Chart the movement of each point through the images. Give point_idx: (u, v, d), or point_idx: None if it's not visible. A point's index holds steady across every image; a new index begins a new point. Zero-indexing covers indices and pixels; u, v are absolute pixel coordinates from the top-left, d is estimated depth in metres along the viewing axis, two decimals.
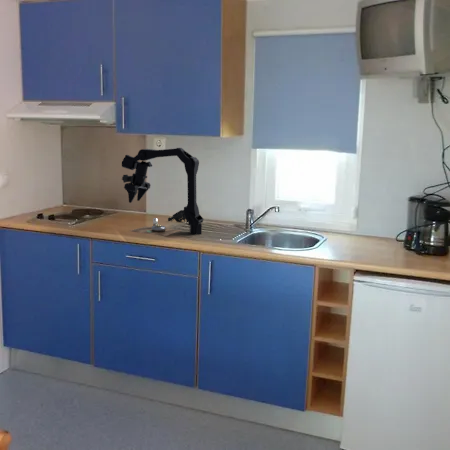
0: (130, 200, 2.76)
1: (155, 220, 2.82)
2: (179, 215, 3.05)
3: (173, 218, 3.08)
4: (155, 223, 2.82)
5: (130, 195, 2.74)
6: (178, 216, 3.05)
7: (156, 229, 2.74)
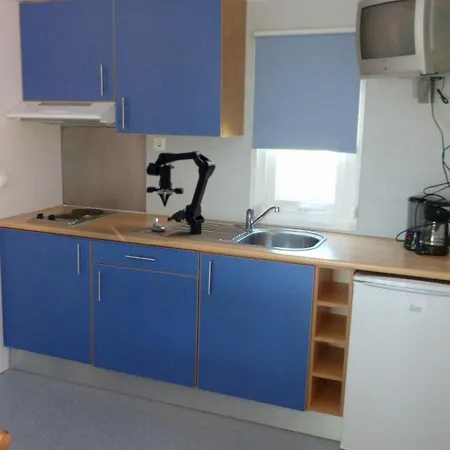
0: None
1: (155, 220, 2.82)
2: (178, 215, 3.05)
3: (172, 218, 3.08)
4: (155, 223, 2.82)
5: None
6: (177, 216, 3.06)
7: (156, 229, 2.74)
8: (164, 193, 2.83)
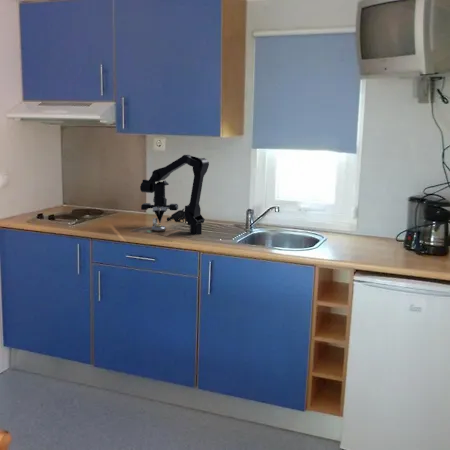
0: None
1: (155, 220, 2.82)
2: (178, 215, 3.05)
3: (172, 218, 3.08)
4: (155, 223, 2.82)
5: None
6: (177, 216, 3.06)
7: (156, 229, 2.74)
8: (159, 209, 2.85)
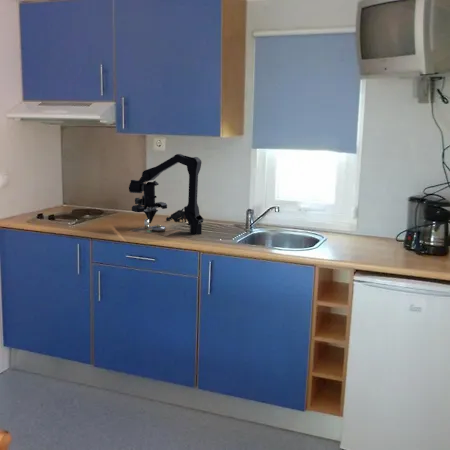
0: (149, 221, 2.81)
1: (148, 221, 2.79)
2: (177, 215, 3.06)
3: (171, 218, 3.09)
4: (148, 224, 2.79)
5: (148, 216, 2.80)
6: (176, 216, 3.06)
7: (161, 229, 2.75)
8: None
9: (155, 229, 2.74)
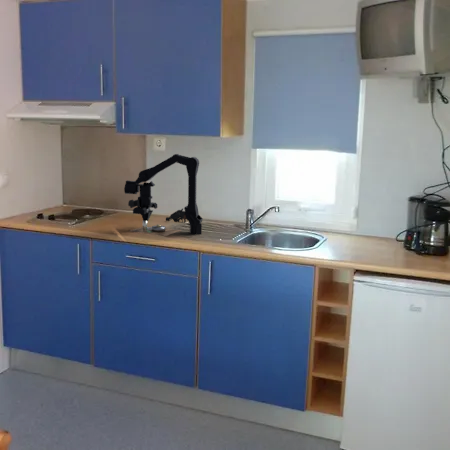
0: None
1: None
2: (177, 215, 3.06)
3: (171, 218, 3.09)
4: None
5: (144, 217, 2.76)
6: (176, 216, 3.06)
7: (164, 228, 2.76)
8: None
9: (159, 229, 2.74)
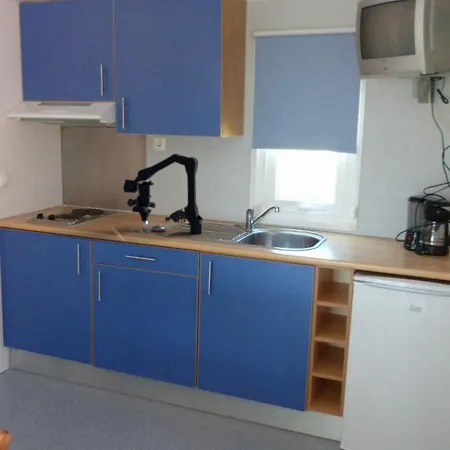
0: None
1: (147, 222, 2.75)
2: (176, 215, 3.06)
3: (170, 218, 3.09)
4: (147, 225, 2.75)
5: (143, 216, 2.77)
6: (175, 216, 3.06)
7: (165, 228, 2.77)
8: None
9: (160, 229, 2.74)
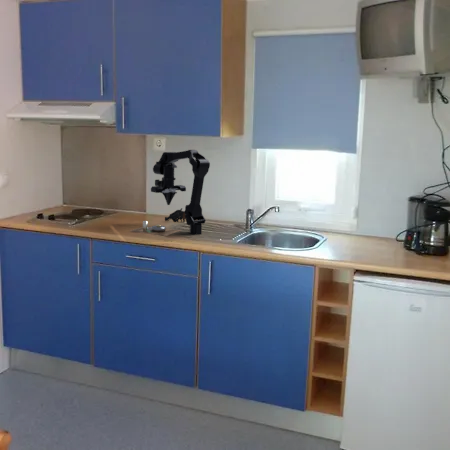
0: (167, 202, 2.88)
1: (147, 222, 2.75)
2: (176, 215, 3.06)
3: (170, 218, 3.09)
4: None
5: (166, 197, 2.87)
6: (175, 216, 3.06)
7: (165, 228, 2.77)
8: None
9: (160, 229, 2.74)
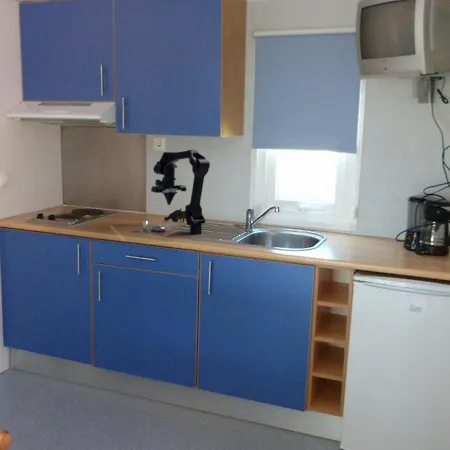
0: (167, 202, 2.88)
1: (147, 222, 2.75)
2: (175, 215, 3.06)
3: (169, 218, 3.09)
4: None
5: (166, 197, 2.87)
6: (174, 216, 3.06)
7: (165, 228, 2.77)
8: None
9: (160, 229, 2.74)
